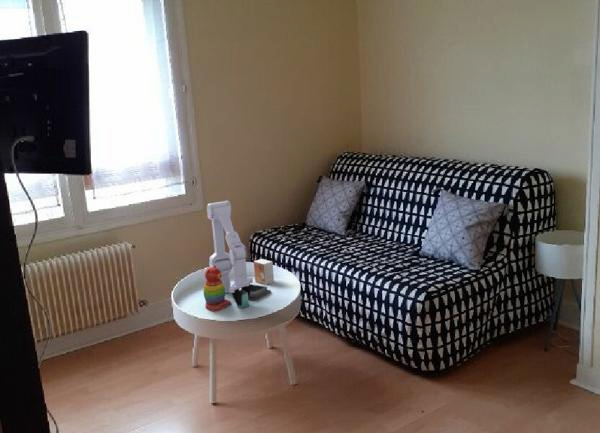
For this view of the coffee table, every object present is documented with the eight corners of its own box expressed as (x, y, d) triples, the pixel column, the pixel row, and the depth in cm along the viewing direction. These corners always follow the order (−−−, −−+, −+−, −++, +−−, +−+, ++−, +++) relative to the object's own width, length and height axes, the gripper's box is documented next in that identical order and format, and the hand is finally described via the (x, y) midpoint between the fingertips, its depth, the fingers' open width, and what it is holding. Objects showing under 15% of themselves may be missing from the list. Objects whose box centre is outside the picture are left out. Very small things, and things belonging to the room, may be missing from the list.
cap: (235, 307, 263) (233, 293, 262) (241, 303, 267) (240, 289, 266) (244, 309, 260) (243, 295, 259) (251, 304, 265) (249, 291, 263)
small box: (255, 281, 294) (253, 261, 292) (263, 278, 298) (262, 258, 296) (265, 285, 289) (263, 264, 286) (274, 282, 292) (272, 261, 290)
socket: (234, 297, 275) (233, 291, 274) (249, 289, 285) (249, 283, 284) (256, 301, 269) (255, 294, 268) (271, 292, 278) (270, 286, 278)
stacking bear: (217, 312, 259) (213, 272, 255) (199, 308, 264) (195, 270, 260) (233, 303, 268) (229, 265, 264) (215, 300, 273) (211, 262, 269)
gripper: (237, 279, 252) (240, 310, 255) (257, 269, 264) (259, 298, 267) (224, 277, 256) (227, 308, 259) (244, 267, 268) (246, 296, 271)
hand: (242, 303), depth 263 cm, fingers closed on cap, 5 cm apart
